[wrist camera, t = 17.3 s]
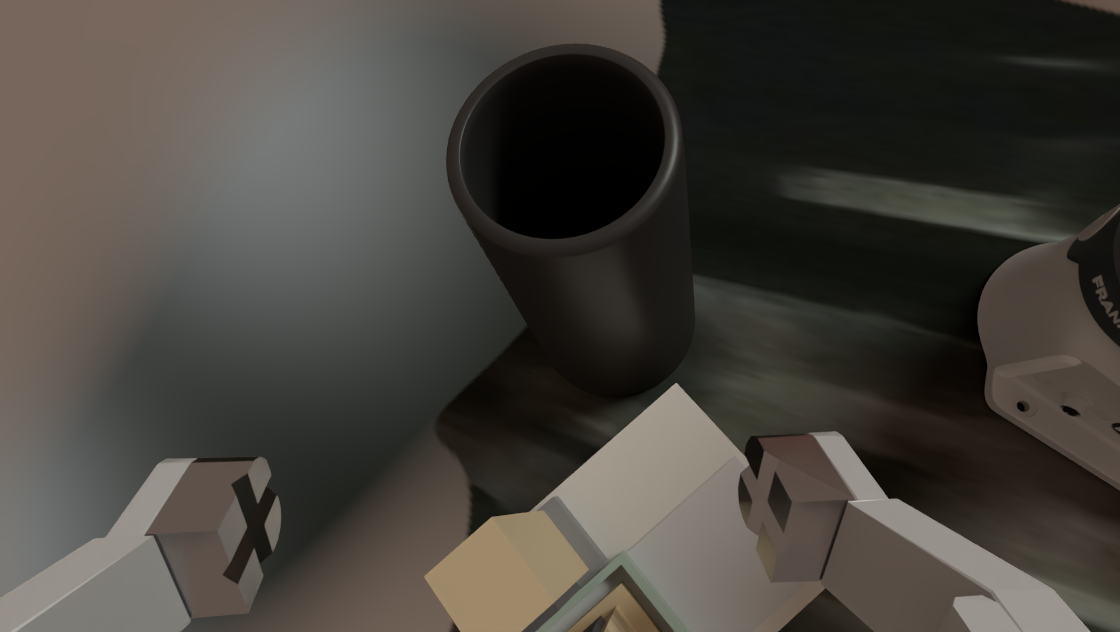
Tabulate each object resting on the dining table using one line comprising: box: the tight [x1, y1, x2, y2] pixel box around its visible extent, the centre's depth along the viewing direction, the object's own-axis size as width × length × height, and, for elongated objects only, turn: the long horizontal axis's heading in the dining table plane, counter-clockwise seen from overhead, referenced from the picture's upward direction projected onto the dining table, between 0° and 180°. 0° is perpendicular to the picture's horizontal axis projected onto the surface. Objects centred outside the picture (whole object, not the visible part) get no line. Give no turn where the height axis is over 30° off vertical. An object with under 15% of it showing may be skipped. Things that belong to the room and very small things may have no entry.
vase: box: [446, 44, 695, 396], centre depth 41 cm, size 14×14×29 cm
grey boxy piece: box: [424, 383, 825, 632], centre depth 37 cm, size 15×19×24 cm
